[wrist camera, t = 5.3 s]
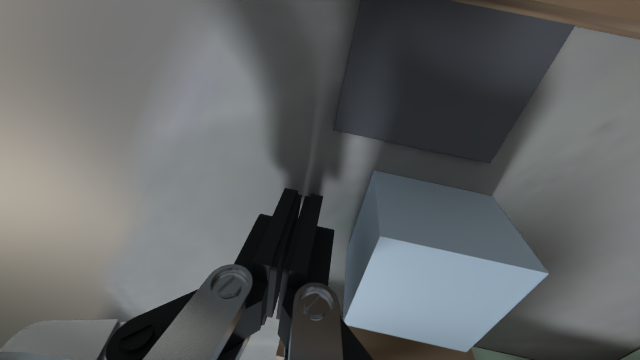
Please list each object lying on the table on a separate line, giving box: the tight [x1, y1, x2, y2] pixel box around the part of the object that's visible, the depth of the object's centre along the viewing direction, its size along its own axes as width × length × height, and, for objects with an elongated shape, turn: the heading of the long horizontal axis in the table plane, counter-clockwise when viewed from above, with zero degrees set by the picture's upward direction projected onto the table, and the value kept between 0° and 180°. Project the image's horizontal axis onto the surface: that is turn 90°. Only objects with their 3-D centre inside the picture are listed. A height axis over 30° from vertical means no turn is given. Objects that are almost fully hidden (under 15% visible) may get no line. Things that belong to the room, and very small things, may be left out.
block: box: [343, 170, 549, 352], centre depth 11 cm, size 5×5×4 cm
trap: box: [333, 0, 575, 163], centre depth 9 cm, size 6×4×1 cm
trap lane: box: [275, 0, 640, 360], centre depth 10 cm, size 21×19×4 cm
